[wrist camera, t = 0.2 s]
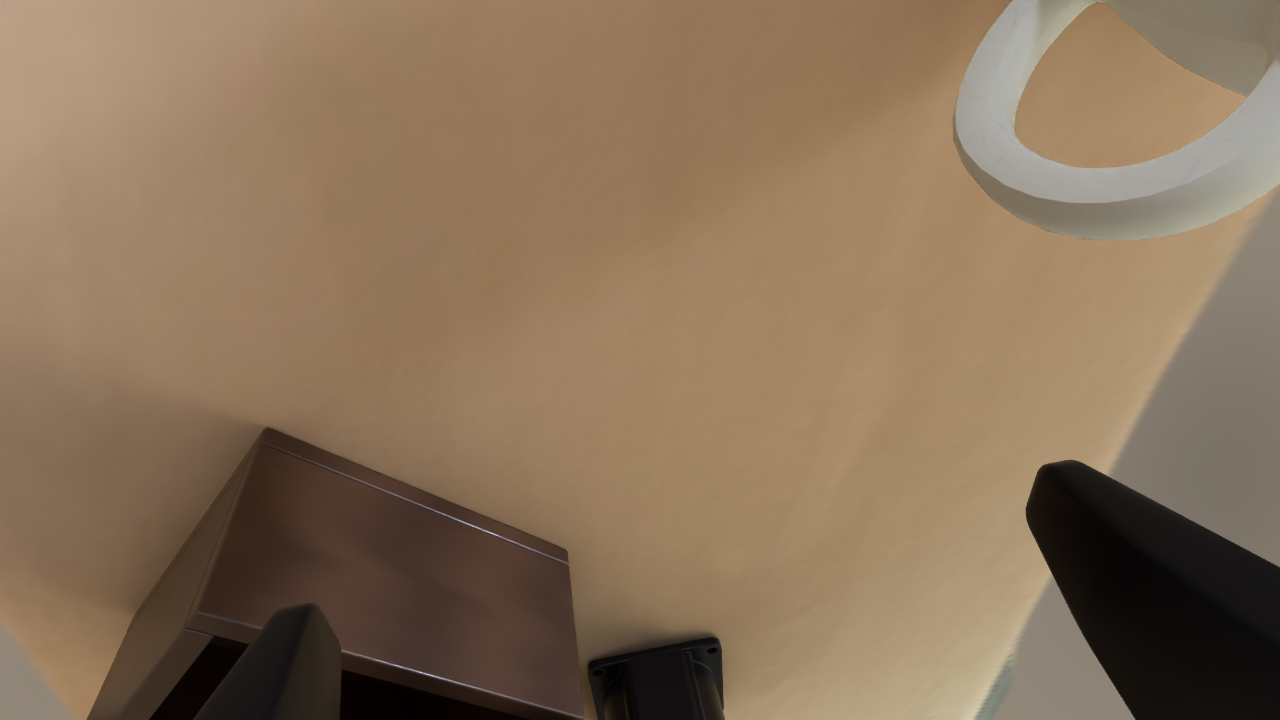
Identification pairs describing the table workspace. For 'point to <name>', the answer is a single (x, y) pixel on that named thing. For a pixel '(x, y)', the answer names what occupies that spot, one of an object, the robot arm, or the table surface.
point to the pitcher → (1145, 192)
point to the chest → (356, 599)
